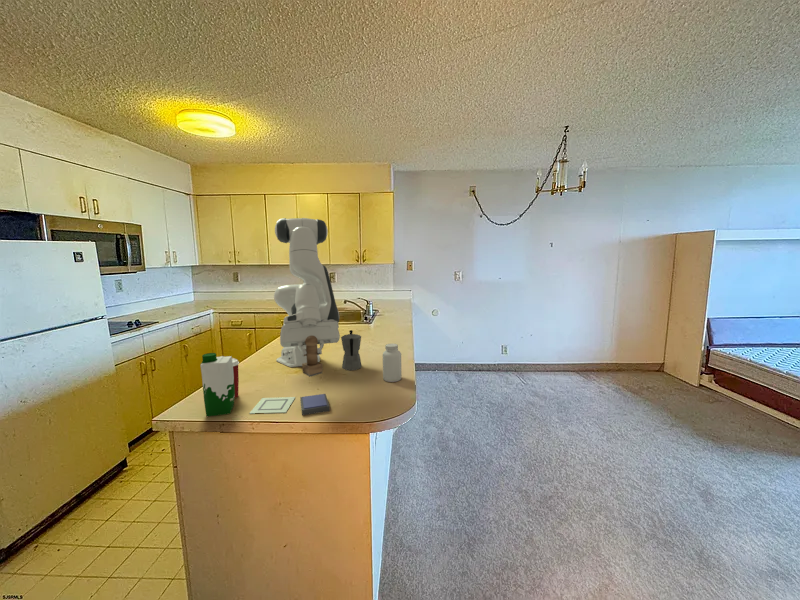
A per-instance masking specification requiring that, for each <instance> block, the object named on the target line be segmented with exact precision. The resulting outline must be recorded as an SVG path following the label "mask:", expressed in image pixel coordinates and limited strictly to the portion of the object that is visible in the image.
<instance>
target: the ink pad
mask: <svg viewBox="0 0 800 600" xmlns="http://www.w3.org/2000/svg"><path fill="white" fill-rule="evenodd" d="M299 398H300V399H299V400H300V411H301V416H306V415H312V414H313V415H314V414H319V413H327V412H330V411H331V410H330V409H331V408H330V403H329V400H328V397H327V393H320V394H311V395H305V396H300V397H299Z"/></svg>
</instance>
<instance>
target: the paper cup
mask: <svg viewBox="0 0 800 600" xmlns="http://www.w3.org/2000/svg"><path fill="white" fill-rule="evenodd" d="M232 363H233V373H234V387H235V399H237V398H238V397H239V380H240V379H239V378H240V377H239V364H240V361H239V360H238V359H237V358H234V357H232ZM236 397H237V398H236Z"/></svg>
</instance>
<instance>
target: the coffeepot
mask: <svg viewBox="0 0 800 600" xmlns="http://www.w3.org/2000/svg"><path fill="white" fill-rule="evenodd" d="M348 332H349V334H347V333H346V334H343V335H342V336H340V340H341V345H342V350H343V358H342V365H341V368H342V369H343V370H344V369H345V370H344V371H357V369H358V370H359V369H361V367H362V360H361V355H360V351H359V350H360V348H361V341H362V335H360V334H356V333H354V330H352V329H351V330H349V331H348Z"/></svg>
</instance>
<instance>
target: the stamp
mask: <svg viewBox="0 0 800 600" xmlns="http://www.w3.org/2000/svg"><path fill="white" fill-rule="evenodd" d="M317 343H318V340H317V338H316V337H315V336H312V335H311V336H308V337H307V338H306V340H305V344H306V352H307V363H303V364H302V366H301V368H302V374H303V375H306V376H308V377H309V378H310V377H315V376H317V375H321V374H323V370H324V369H323V367H324V364H323V363H322V362H320V361H319V362H318V357H317V347H318V344H317Z"/></svg>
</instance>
